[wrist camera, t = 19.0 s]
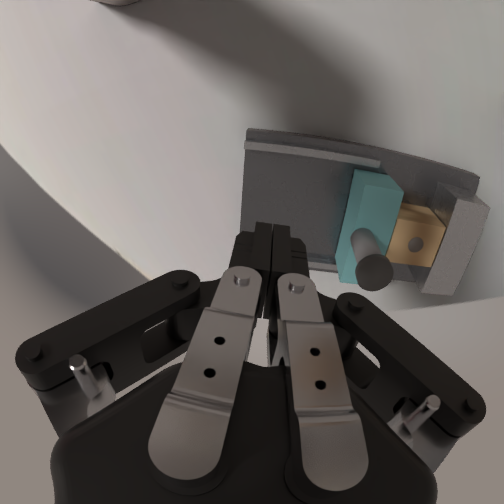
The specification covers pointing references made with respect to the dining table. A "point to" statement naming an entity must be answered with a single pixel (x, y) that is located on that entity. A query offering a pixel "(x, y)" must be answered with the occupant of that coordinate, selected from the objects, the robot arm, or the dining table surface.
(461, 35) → the dining table surface
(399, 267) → the frame
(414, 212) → the block
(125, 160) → the dining table surface
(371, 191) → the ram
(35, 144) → the dining table surface
